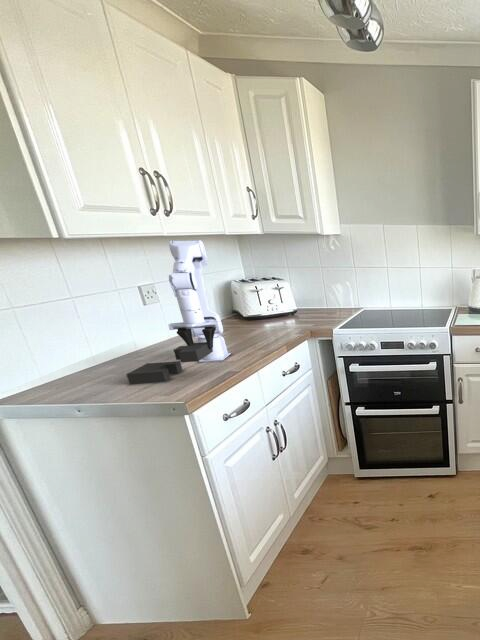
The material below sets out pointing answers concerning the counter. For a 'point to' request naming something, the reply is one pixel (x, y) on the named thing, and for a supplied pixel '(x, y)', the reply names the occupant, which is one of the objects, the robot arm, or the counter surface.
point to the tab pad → (192, 352)
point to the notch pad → (154, 372)
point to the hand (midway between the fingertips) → (201, 348)
